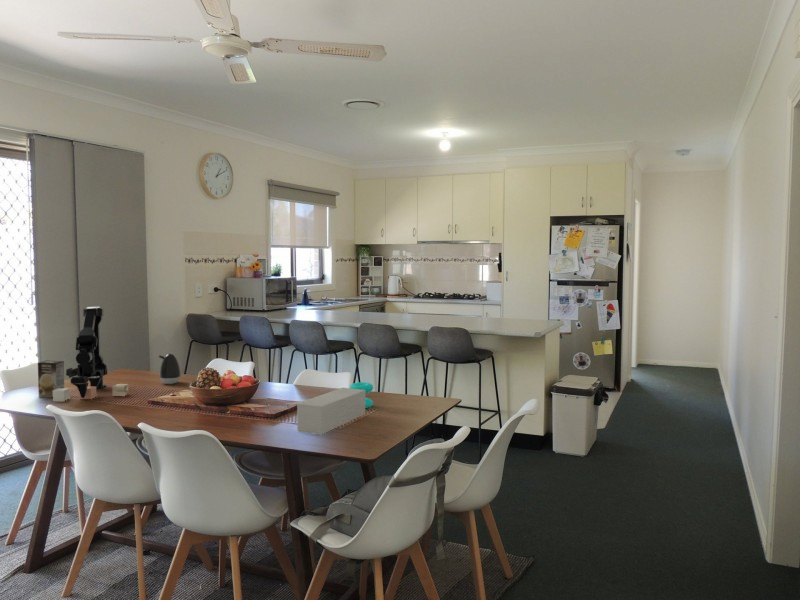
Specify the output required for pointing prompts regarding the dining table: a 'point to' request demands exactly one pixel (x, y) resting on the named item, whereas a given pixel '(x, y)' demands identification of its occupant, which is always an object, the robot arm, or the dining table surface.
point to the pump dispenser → (169, 369)
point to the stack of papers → (330, 410)
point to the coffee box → (50, 377)
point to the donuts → (367, 388)
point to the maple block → (120, 389)
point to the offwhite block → (61, 394)
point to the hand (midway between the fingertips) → (88, 395)
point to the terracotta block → (90, 393)
